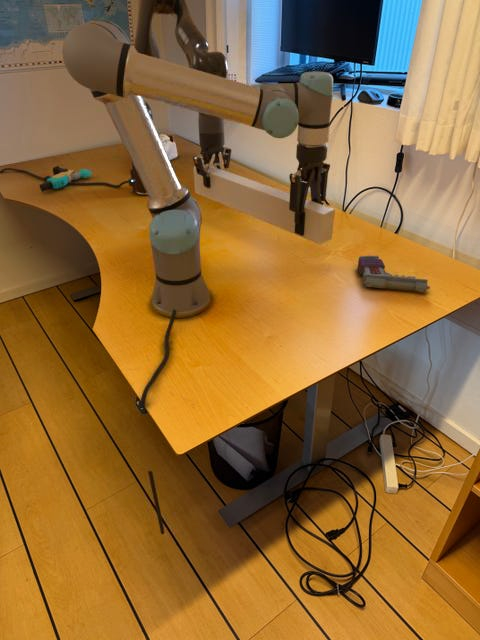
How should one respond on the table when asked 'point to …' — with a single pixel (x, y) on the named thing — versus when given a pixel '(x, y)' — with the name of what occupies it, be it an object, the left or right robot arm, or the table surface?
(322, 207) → the bar
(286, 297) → the table surface
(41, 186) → the toy gun
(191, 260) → the right robot arm
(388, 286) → the toy gun
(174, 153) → the sneaker
